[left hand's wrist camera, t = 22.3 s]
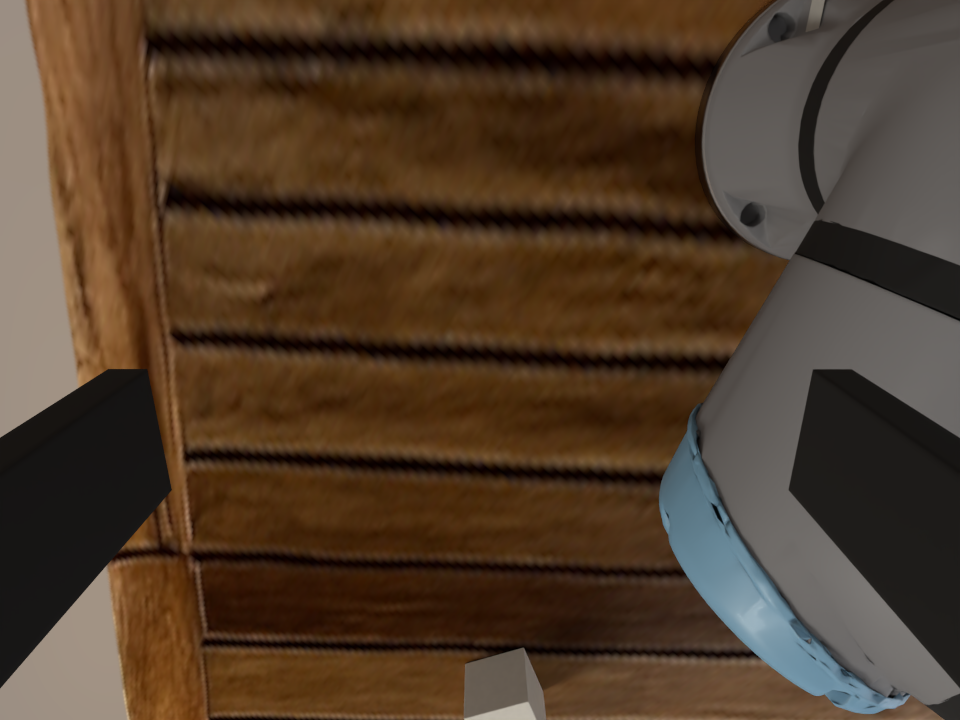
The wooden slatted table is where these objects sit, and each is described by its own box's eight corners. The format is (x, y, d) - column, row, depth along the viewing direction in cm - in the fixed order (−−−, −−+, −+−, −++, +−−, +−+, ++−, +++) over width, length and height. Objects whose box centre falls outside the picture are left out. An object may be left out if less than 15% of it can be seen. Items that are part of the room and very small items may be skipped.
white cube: (523, 647, 49) (528, 701, 44) (543, 691, 50) (549, 748, 46) (465, 663, 49) (463, 719, 45) (485, 706, 51) (486, 764, 46)
